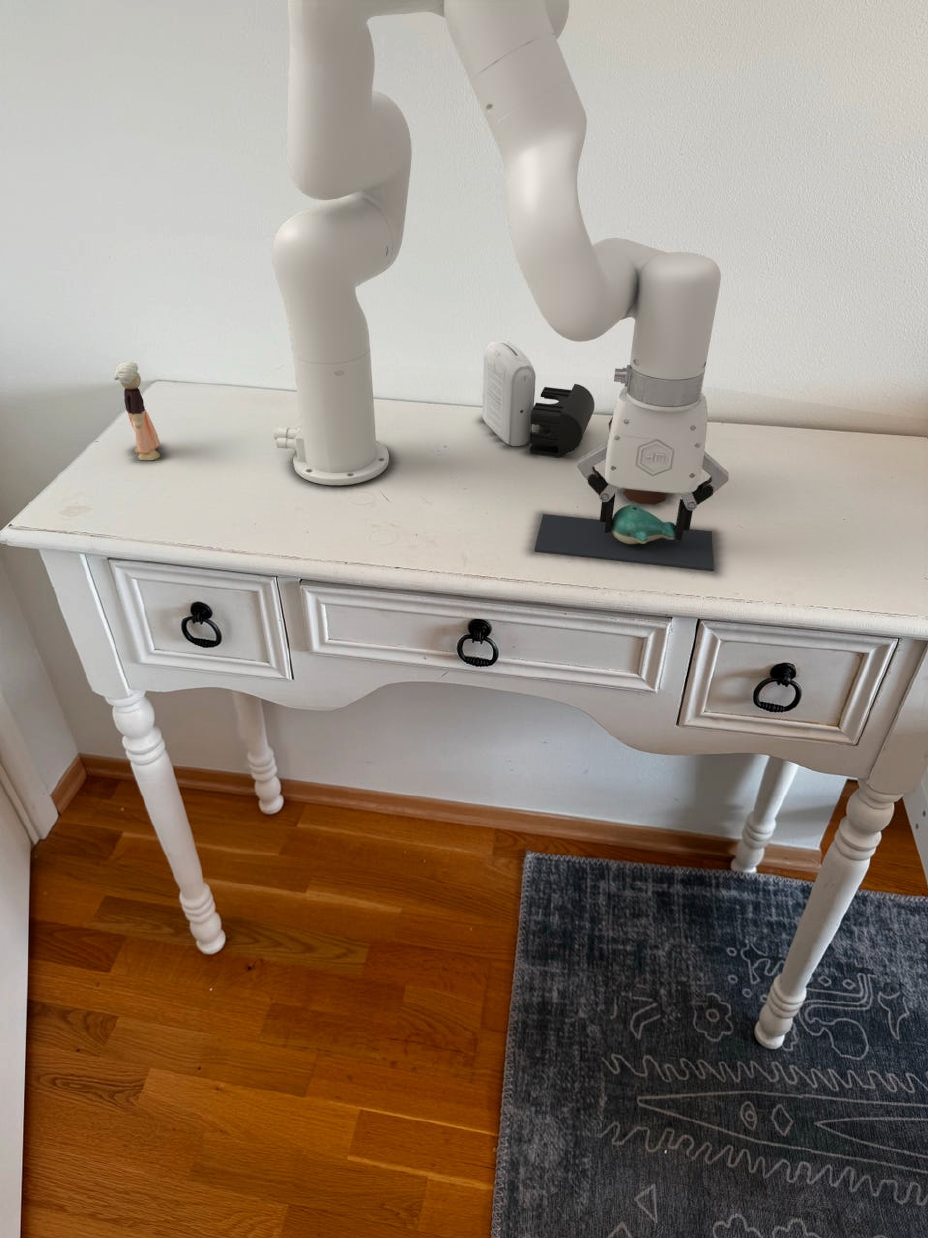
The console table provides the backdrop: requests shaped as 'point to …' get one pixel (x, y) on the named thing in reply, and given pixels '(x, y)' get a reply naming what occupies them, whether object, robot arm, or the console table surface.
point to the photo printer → (508, 392)
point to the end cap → (561, 421)
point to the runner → (622, 544)
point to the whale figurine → (640, 526)
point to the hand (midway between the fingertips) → (643, 529)
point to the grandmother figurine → (137, 411)
